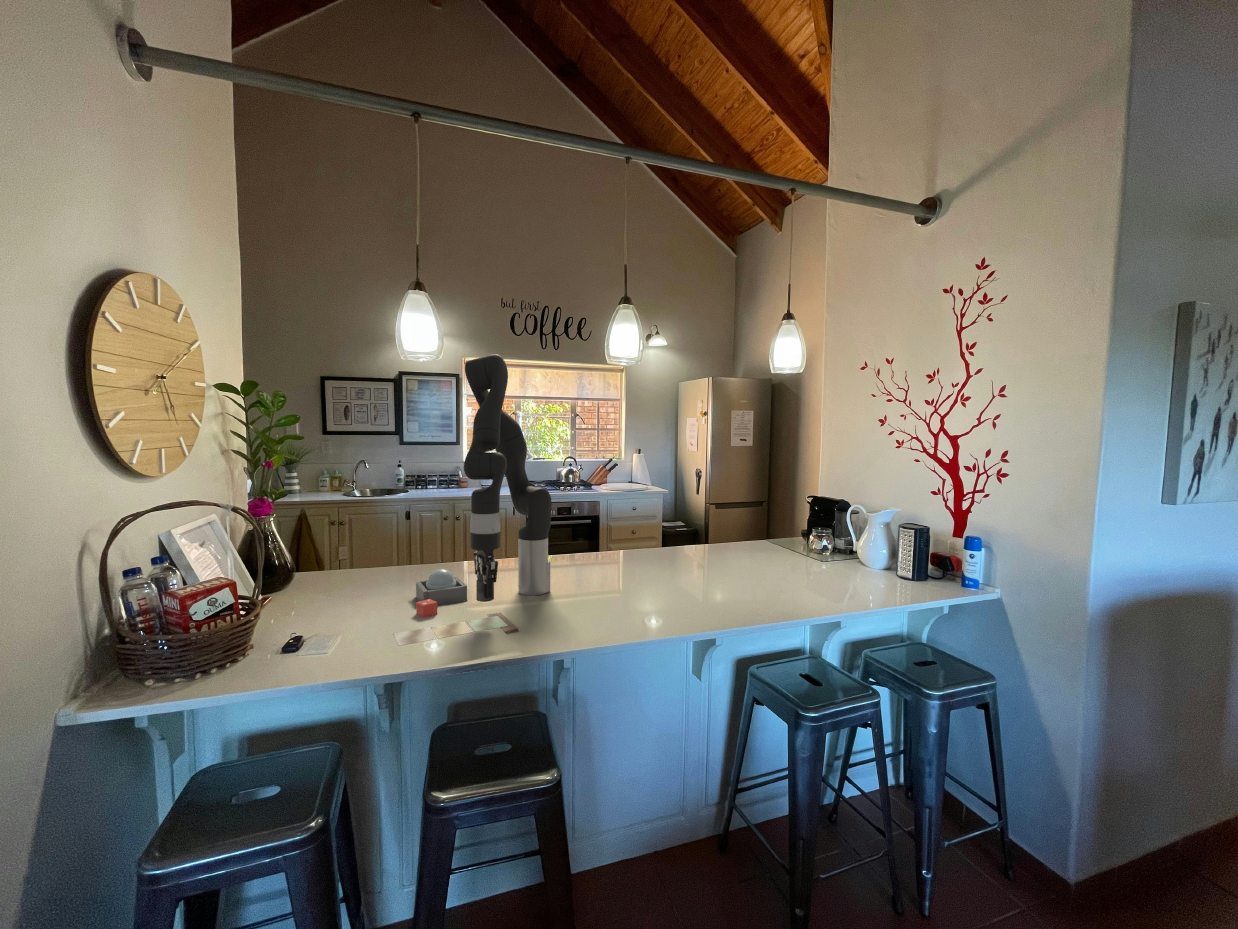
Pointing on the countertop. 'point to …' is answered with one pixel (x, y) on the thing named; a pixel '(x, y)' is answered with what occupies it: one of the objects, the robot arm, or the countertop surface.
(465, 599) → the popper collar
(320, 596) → the countertop surface
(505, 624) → the game board
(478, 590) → the dark grey capsule
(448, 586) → the dome
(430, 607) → the red die
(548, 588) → the robot arm
